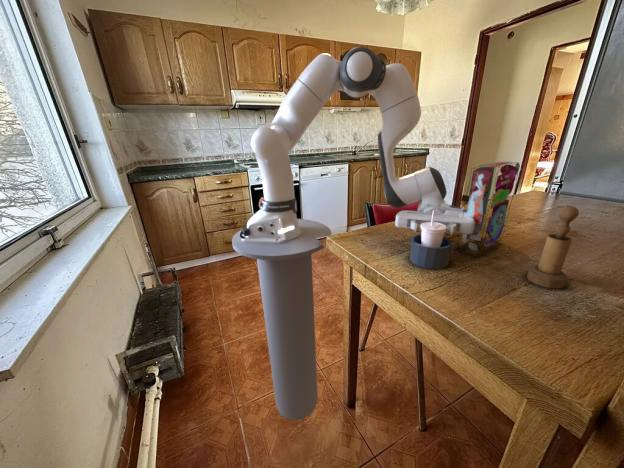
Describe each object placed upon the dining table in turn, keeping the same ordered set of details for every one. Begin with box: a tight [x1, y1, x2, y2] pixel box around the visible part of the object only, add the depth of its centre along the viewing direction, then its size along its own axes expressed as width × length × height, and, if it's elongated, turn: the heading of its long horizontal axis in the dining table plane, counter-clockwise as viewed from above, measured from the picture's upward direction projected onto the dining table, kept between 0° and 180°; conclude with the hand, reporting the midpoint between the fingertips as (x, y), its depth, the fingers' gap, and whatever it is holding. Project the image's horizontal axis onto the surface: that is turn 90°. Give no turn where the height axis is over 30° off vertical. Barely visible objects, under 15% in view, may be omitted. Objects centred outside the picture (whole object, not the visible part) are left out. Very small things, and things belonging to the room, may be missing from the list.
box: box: [456, 161, 521, 258], centre depth 76 cm, size 25×6×24 cm, turn 125°
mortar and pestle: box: [526, 205, 580, 290], centre depth 56 cm, size 7×6×18 cm
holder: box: [409, 233, 453, 270], centre depth 70 cm, size 10×10×6 cm
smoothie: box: [420, 210, 447, 248], centre depth 68 cm, size 6×6×14 cm
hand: (433, 230), depth 67 cm, fingers closed on smoothie, 6 cm apart
